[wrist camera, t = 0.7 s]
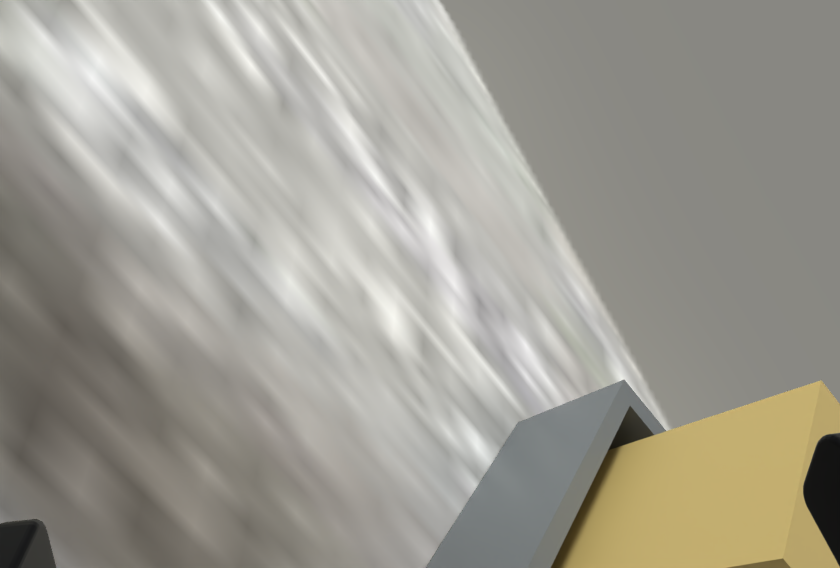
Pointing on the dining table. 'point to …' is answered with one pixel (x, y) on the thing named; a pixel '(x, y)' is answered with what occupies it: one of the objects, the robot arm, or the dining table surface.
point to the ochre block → (710, 493)
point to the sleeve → (542, 481)
